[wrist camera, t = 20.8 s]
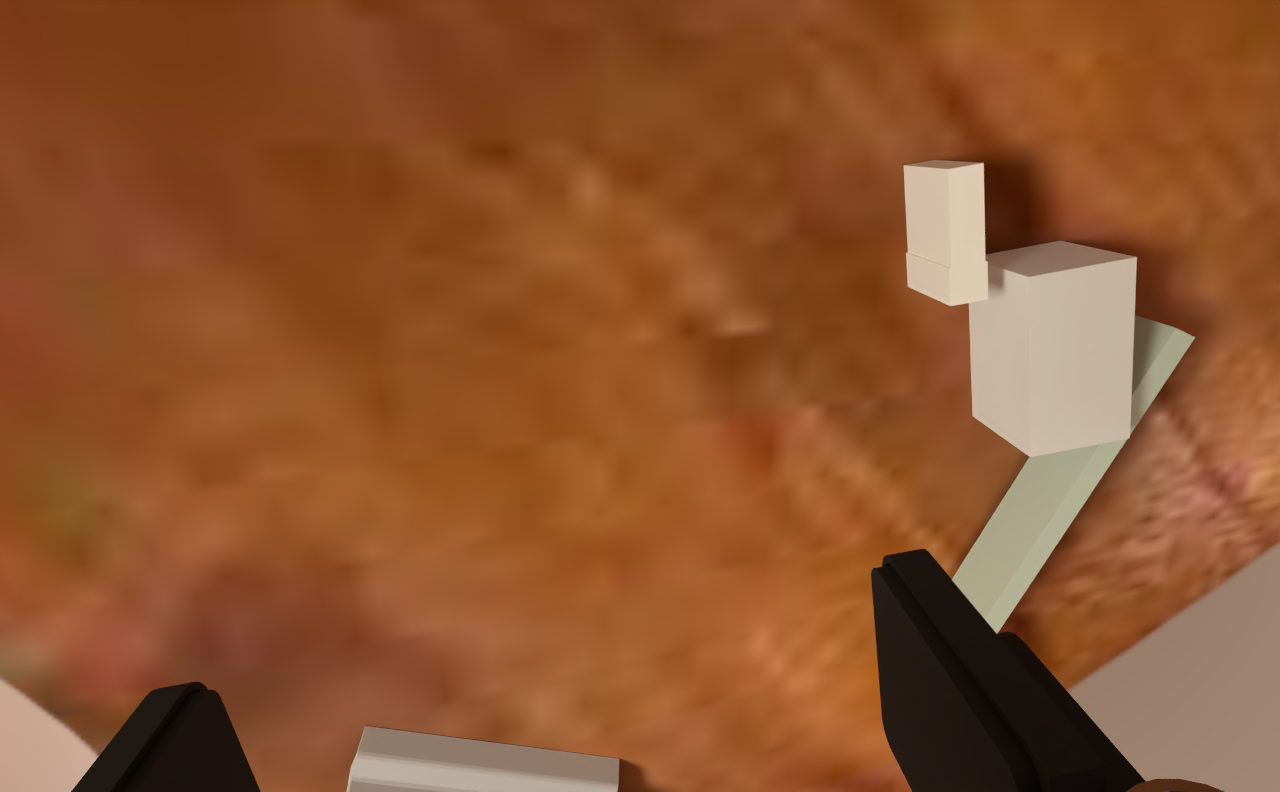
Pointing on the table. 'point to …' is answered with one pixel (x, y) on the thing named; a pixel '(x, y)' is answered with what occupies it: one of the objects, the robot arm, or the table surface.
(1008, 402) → the block
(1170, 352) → the door
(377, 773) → the hinge
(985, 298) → the notched cream block
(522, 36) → the table surface
